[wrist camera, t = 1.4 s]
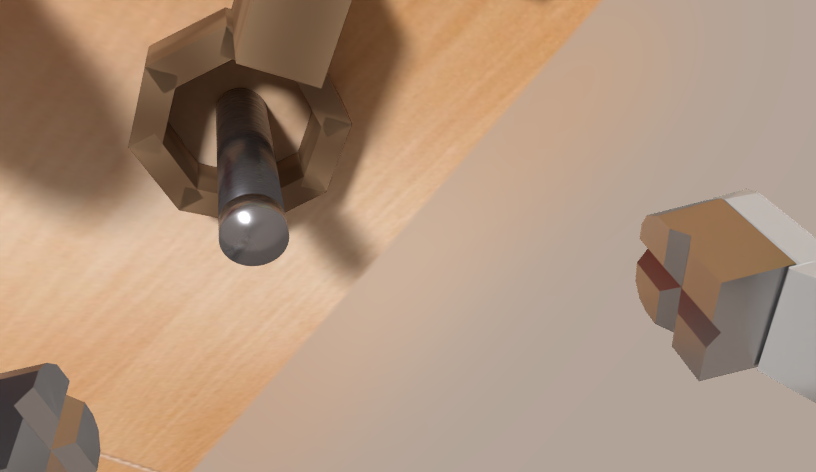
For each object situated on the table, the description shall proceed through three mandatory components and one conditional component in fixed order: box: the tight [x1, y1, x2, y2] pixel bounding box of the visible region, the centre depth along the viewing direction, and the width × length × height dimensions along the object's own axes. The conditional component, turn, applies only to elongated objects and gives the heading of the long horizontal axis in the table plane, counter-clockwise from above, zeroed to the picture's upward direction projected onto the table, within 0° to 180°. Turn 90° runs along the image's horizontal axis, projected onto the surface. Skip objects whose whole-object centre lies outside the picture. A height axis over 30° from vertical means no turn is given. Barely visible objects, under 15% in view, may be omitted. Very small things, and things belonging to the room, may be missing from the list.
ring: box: [128, 0, 352, 218], centre depth 25 cm, size 8×13×6 cm, turn 157°
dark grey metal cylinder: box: [216, 88, 289, 266], centre depth 25 cm, size 2×2×10 cm
